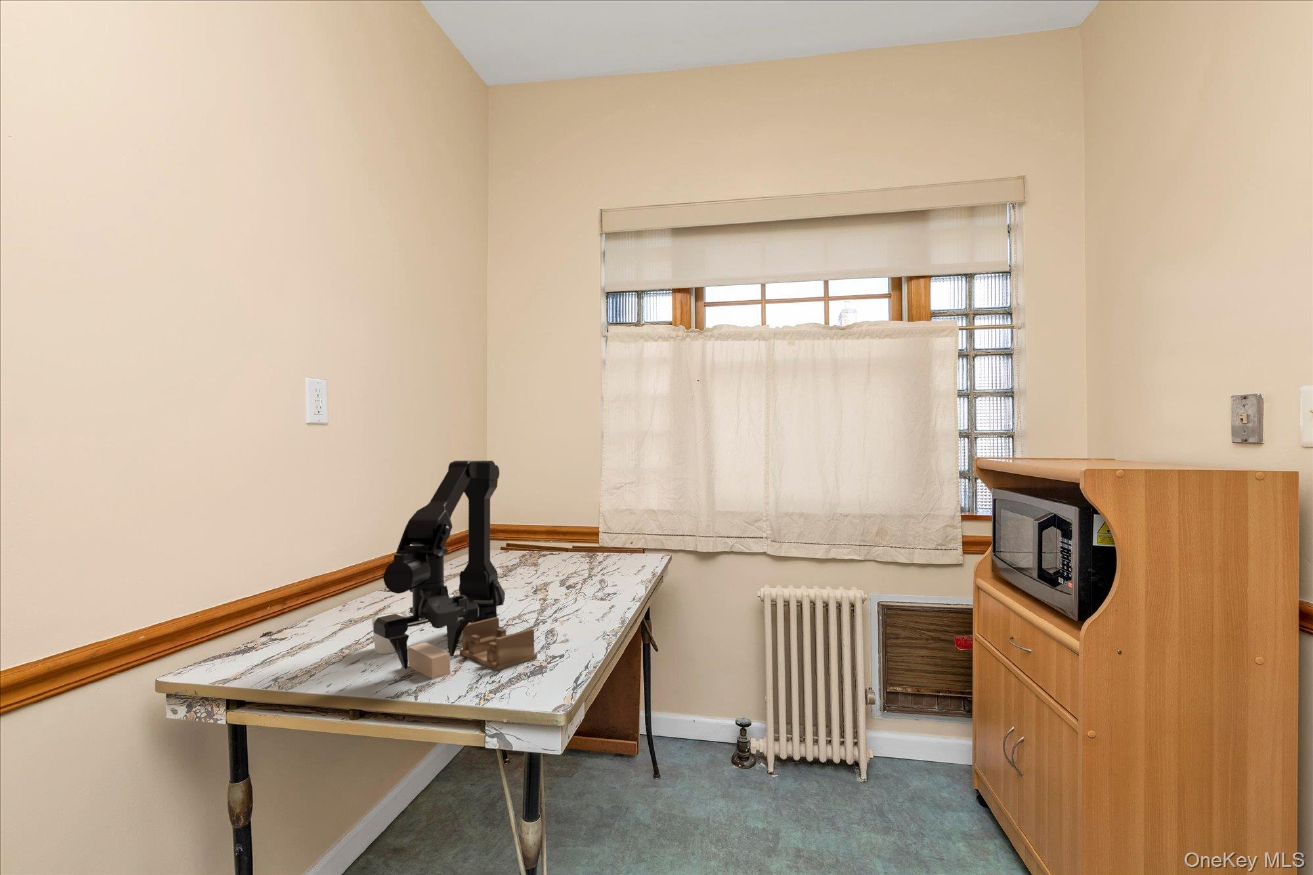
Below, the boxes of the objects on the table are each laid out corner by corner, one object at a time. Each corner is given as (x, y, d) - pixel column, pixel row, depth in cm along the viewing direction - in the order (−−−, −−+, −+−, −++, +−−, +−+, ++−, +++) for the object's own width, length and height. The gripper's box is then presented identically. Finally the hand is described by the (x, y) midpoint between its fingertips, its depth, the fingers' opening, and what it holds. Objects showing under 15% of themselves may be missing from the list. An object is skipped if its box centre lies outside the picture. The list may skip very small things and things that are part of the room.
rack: (460, 653, 124) (459, 625, 124) (498, 642, 131) (497, 616, 131) (497, 670, 114) (497, 640, 114) (536, 658, 121) (536, 629, 121)
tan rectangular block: (408, 667, 118) (408, 646, 118) (425, 662, 120) (425, 642, 120) (432, 680, 111) (432, 658, 111) (450, 674, 113) (449, 653, 113)
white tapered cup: (414, 646, 129) (413, 613, 130) (388, 656, 123) (387, 622, 123) (391, 642, 132) (391, 610, 132) (364, 652, 126) (364, 618, 126)
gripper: (397, 596, 103) (398, 687, 103) (493, 578, 117) (494, 658, 117) (372, 587, 111) (372, 671, 111) (464, 571, 125) (465, 646, 124)
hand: (428, 662), depth 116 cm, fingers open, 9 cm apart
